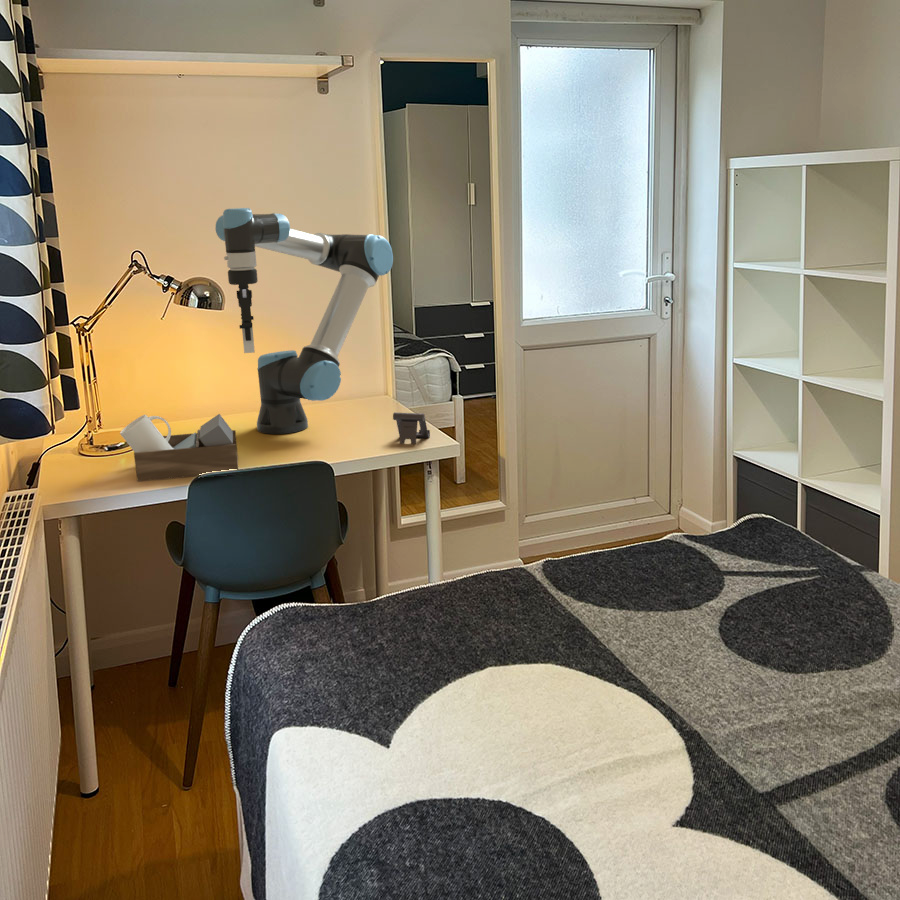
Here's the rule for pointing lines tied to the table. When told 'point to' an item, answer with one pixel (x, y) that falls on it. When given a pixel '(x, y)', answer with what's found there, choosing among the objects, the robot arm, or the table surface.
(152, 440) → the mug
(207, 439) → the trapdoor
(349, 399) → the table surface
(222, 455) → the brown wooden box
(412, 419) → the portable electronic device stand
